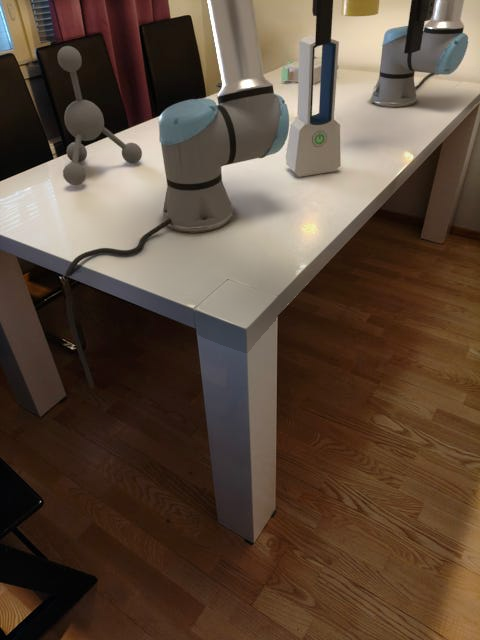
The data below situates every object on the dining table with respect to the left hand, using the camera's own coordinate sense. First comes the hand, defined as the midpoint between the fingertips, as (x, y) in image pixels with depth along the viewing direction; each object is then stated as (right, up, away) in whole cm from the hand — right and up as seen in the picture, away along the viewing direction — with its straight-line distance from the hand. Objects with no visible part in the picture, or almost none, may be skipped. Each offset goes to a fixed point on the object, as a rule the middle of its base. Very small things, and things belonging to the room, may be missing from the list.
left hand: (364, 47), depth 65 cm
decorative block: (+13, +67, +144) cm, 159 cm away
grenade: (-21, +35, +105) cm, 112 cm away
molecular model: (-54, +5, +69) cm, 88 cm away
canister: (+13, +40, +56) cm, 69 cm away
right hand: (+13, +43, +53) cm, 69 cm away
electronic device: (+2, +3, +61) cm, 62 cm away
